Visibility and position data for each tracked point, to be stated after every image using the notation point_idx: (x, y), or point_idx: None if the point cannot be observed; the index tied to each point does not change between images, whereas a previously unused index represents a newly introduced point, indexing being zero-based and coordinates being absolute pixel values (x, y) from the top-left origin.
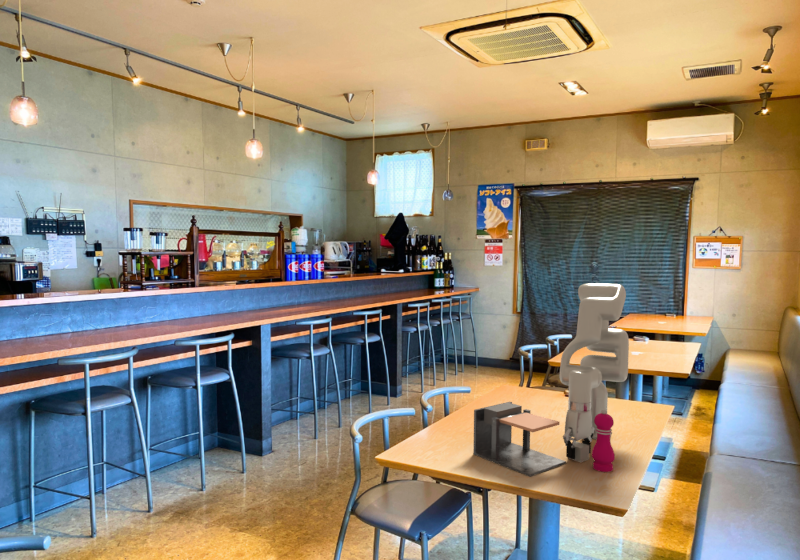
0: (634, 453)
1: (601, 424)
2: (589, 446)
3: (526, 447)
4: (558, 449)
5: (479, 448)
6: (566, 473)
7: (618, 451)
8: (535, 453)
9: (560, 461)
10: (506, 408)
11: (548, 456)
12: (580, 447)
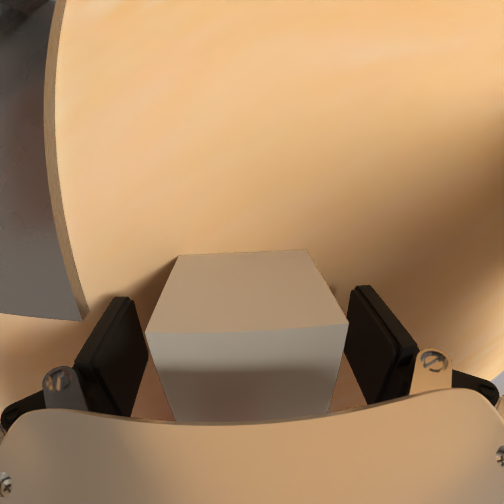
0: (491, 363)
1: None
2: (361, 388)
3: (13, 4)
4: (303, 55)
5: None
6: (33, 370)
7: (495, 326)
8: (10, 85)
9: (49, 300)
10: None
11: (31, 182)
12: None
